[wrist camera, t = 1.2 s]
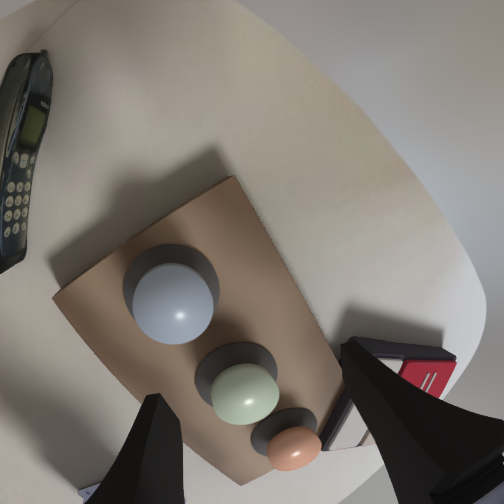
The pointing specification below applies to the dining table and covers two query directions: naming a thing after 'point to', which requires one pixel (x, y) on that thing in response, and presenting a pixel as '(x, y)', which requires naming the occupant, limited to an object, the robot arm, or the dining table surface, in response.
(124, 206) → the dining table surface
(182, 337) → the slate button
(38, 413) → the dining table surface
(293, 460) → the terracotta button
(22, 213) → the mobile phone
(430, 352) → the calculator
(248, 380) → the sage button
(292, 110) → the dining table surface
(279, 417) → the button panel
